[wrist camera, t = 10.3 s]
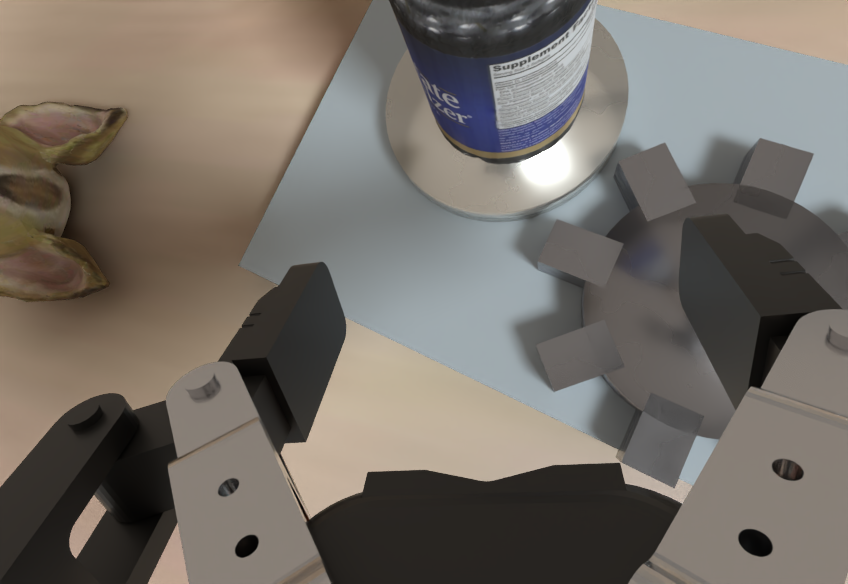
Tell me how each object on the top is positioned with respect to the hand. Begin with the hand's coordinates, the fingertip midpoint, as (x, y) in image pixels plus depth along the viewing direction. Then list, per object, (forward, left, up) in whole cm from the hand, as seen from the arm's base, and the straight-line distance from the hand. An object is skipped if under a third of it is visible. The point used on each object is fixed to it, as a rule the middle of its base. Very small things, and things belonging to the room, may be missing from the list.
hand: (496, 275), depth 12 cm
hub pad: (+4, -8, -9) cm, 13 cm away
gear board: (+1, -6, -11) cm, 12 cm away
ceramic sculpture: (+27, +5, -11) cm, 30 cm away
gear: (-6, -3, -9) cm, 12 cm away
